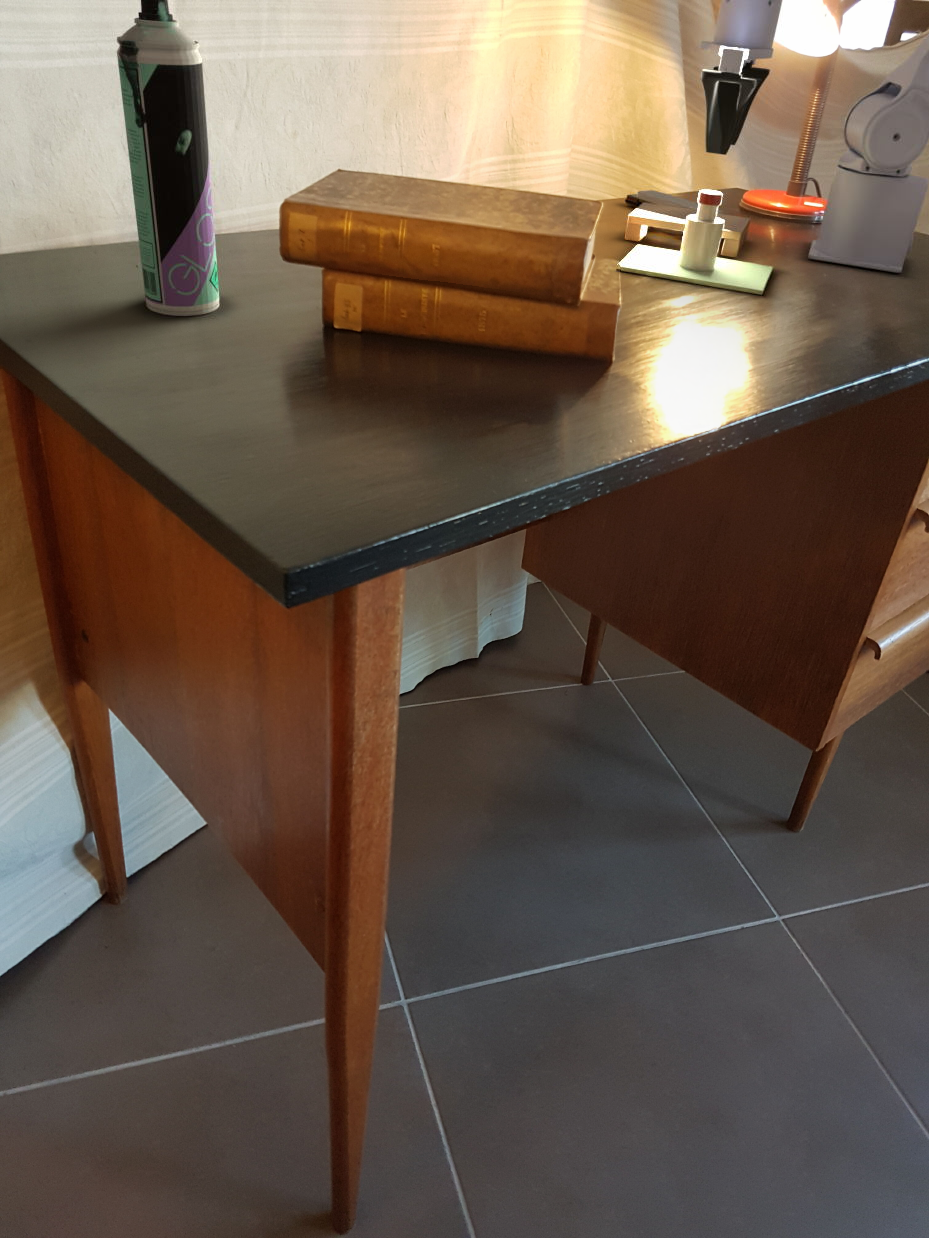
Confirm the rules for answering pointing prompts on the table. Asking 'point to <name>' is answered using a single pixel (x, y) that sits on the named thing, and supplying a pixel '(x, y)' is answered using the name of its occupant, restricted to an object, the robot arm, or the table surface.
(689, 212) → the small bench
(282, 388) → the table surface
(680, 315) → the table surface
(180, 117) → the spray can
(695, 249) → the spice bottle
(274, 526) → the table surface
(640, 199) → the harmonica
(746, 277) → the mat
